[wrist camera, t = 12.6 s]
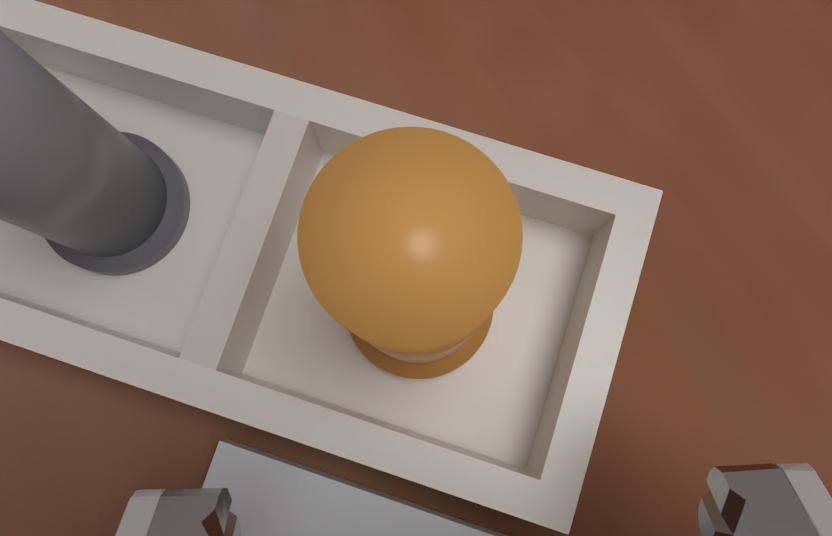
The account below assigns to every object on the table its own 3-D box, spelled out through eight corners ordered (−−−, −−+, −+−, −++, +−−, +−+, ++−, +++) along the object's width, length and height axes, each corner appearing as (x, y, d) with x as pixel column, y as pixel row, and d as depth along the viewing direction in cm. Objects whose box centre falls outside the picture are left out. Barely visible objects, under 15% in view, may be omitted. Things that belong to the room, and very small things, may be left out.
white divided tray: (-76, 298, 21) (-173, 281, 18) (41, 43, 23) (-29, -19, 19) (544, 510, 20) (568, 535, 16) (624, 223, 21) (663, 190, 18)
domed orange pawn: (327, 353, 20) (230, 324, 10) (373, 218, 20) (323, 69, 11) (466, 398, 20) (503, 413, 10) (509, 260, 20) (582, 147, 10)
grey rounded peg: (29, 251, 20) (-325, 124, 11) (84, 124, 21) (-202, -100, 12) (159, 293, 20) (-86, 204, 11) (210, 164, 21) (24, -32, 11)
